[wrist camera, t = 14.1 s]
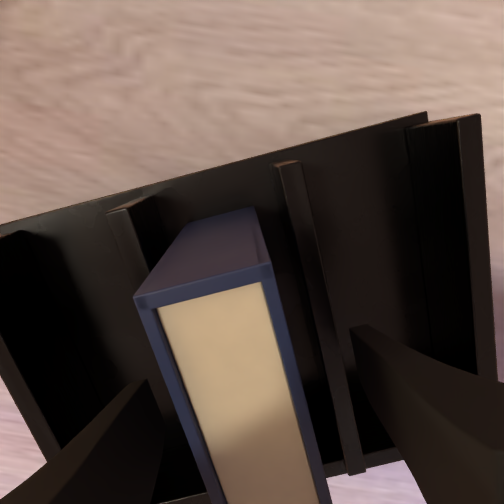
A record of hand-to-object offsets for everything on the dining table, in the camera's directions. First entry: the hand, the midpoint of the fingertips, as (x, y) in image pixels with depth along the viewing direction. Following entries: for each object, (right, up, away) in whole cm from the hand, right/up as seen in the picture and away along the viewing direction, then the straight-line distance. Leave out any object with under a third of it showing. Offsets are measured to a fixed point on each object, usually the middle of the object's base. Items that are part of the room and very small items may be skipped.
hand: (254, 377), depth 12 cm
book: (0, +1, +4) cm, 5 cm away
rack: (0, +2, +5) cm, 6 cm away
